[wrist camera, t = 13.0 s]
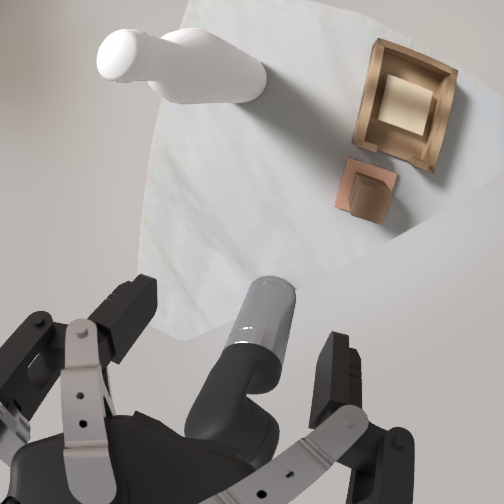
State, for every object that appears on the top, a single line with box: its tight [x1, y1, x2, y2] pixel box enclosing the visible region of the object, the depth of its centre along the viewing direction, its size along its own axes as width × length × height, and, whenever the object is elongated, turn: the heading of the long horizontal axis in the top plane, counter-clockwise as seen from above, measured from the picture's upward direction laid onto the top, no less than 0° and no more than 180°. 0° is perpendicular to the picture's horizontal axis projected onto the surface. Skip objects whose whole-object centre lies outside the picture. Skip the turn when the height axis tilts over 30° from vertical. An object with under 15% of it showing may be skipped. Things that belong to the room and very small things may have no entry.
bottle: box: [97, 28, 267, 104], centre depth 26 cm, size 8×8×30 cm
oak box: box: [352, 38, 458, 173], centre depth 33 cm, size 16×12×5 cm
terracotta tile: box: [335, 157, 397, 211], centre depth 43 cm, size 8×8×1 cm
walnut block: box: [348, 172, 393, 225], centre depth 39 cm, size 4×4×7 cm
